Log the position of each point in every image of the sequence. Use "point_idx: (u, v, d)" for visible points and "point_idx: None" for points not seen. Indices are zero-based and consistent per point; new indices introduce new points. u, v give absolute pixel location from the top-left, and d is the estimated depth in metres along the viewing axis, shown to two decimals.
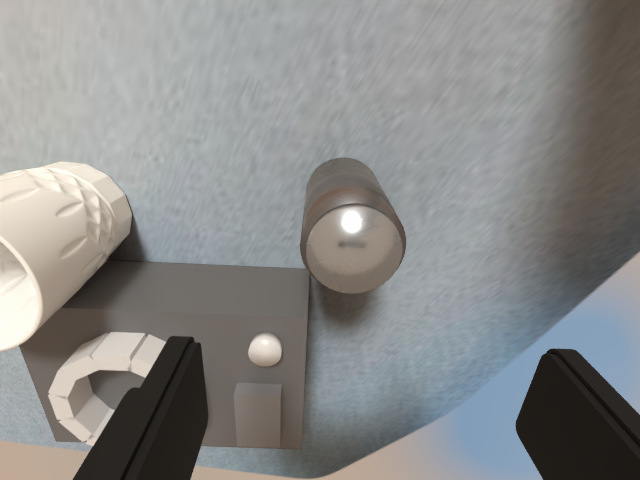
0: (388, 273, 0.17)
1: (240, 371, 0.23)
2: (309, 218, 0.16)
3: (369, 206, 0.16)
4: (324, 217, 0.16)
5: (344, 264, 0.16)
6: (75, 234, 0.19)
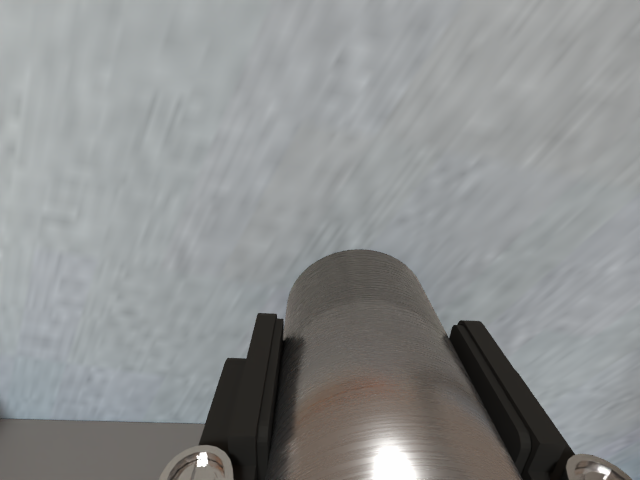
0: None
1: None
2: None
3: None
4: None
5: None
6: None
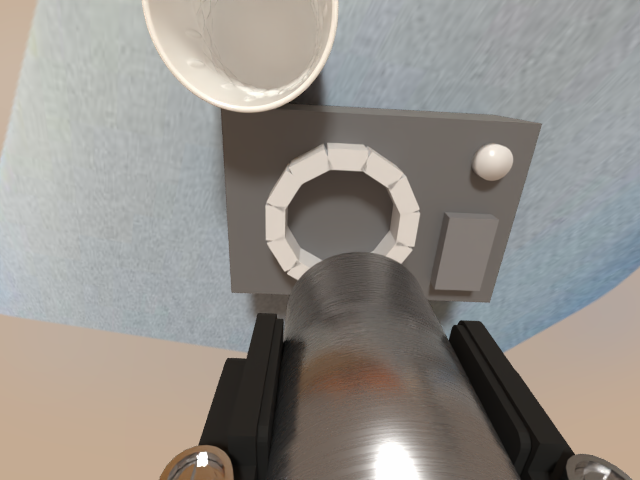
0: None
1: (451, 196, 0.22)
2: None
3: None
4: None
5: None
6: None
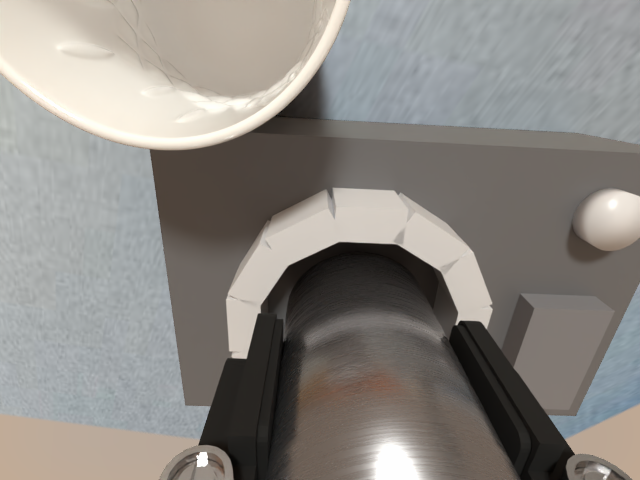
0: None
1: (534, 269, 0.13)
2: None
3: None
4: None
5: None
6: None
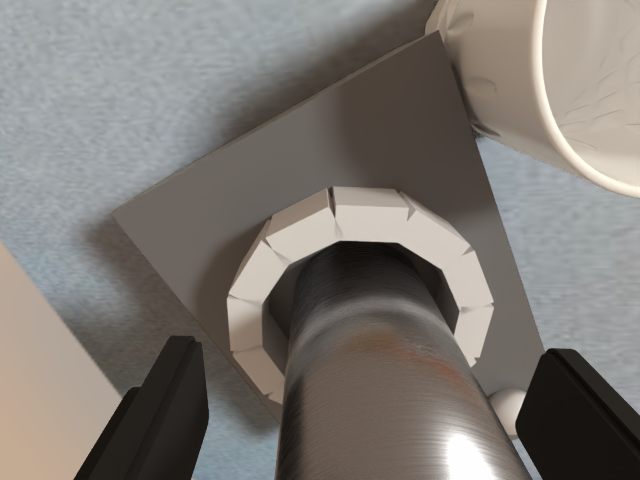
0: None
1: None
2: None
3: None
4: None
5: None
6: None
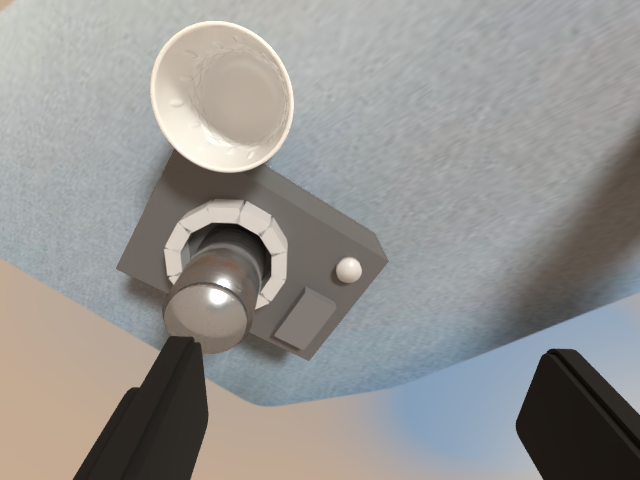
0: (242, 323, 0.20)
1: (314, 278, 0.29)
2: (163, 311, 0.20)
3: (193, 284, 0.19)
4: (166, 309, 0.19)
5: (205, 333, 0.20)
6: None
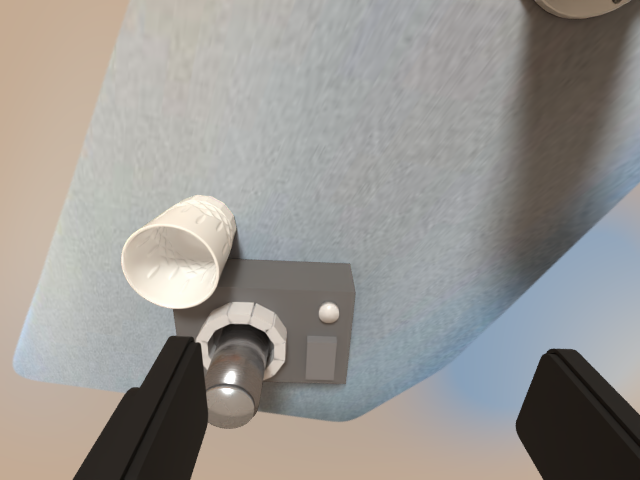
0: (247, 401, 0.28)
1: (310, 327, 0.36)
2: None
3: (206, 390, 0.28)
4: None
5: (230, 415, 0.29)
6: (224, 241, 0.32)
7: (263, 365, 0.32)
